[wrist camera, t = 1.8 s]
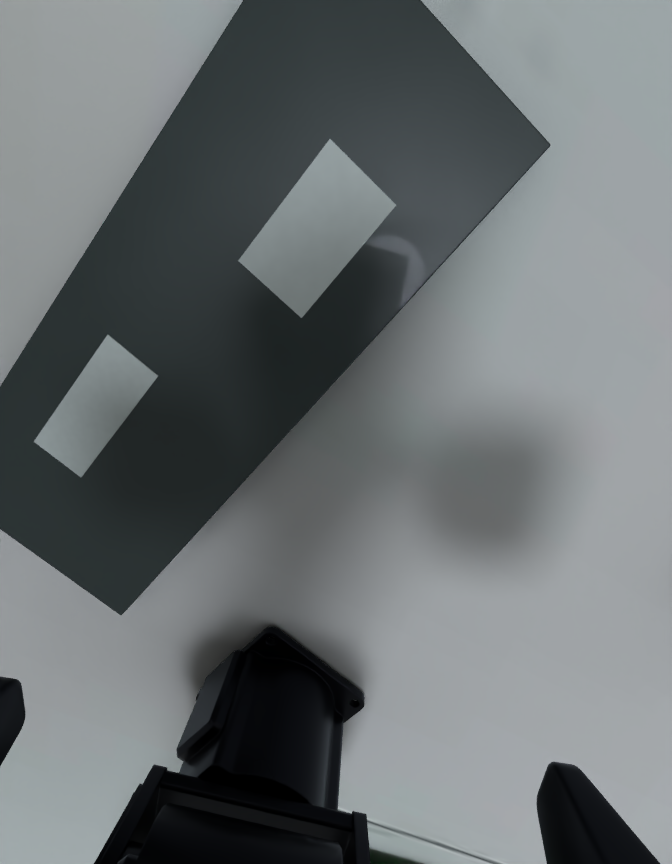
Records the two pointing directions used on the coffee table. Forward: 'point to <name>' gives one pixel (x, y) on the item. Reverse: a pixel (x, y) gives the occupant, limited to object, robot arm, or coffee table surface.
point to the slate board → (246, 274)
